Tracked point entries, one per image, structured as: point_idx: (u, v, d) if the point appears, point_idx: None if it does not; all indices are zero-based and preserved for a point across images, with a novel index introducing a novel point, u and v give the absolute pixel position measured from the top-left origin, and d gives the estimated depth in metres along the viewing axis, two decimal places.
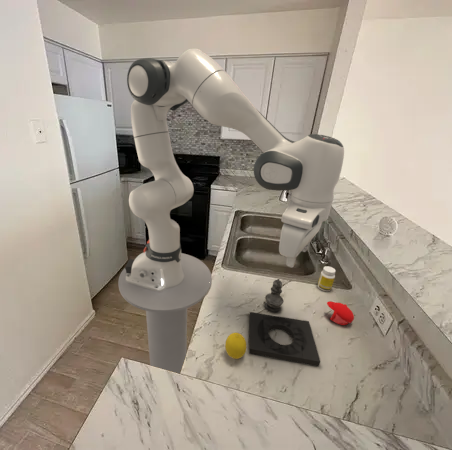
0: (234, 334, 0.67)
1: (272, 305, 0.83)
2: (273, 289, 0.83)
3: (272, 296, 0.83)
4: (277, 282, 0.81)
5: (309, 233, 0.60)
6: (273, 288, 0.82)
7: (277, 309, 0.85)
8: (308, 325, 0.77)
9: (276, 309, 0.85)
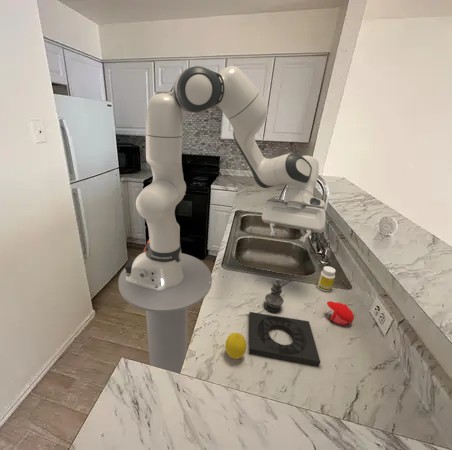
0: (234, 334, 0.67)
1: (272, 305, 0.83)
2: (273, 289, 0.83)
3: (272, 296, 0.83)
4: (277, 282, 0.81)
5: None
6: (273, 288, 0.82)
7: (277, 309, 0.85)
8: (308, 325, 0.77)
9: (276, 309, 0.85)
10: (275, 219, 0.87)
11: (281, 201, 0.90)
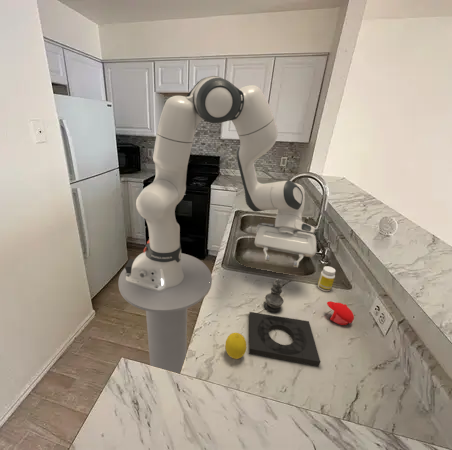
0: (234, 334, 0.67)
1: (272, 305, 0.83)
2: (273, 289, 0.83)
3: (272, 296, 0.83)
4: (277, 282, 0.81)
5: None
6: (273, 288, 0.82)
7: (277, 309, 0.85)
8: (308, 325, 0.77)
9: (276, 309, 0.85)
10: (269, 243, 0.89)
11: (272, 226, 0.92)
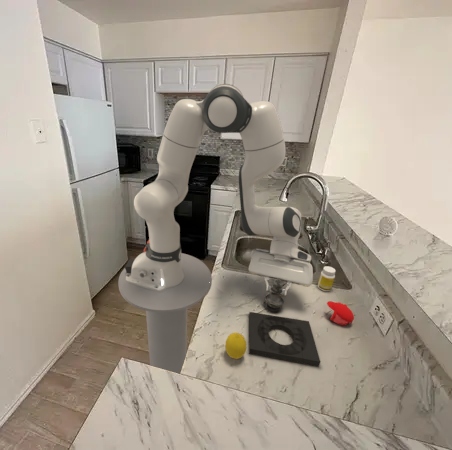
0: (234, 334, 0.67)
1: (272, 305, 0.83)
2: (273, 289, 0.83)
3: (272, 296, 0.84)
4: (277, 282, 0.81)
5: None
6: (273, 288, 0.82)
7: (277, 309, 0.85)
8: (308, 325, 0.77)
9: (276, 309, 0.85)
10: (263, 272, 0.85)
11: (267, 252, 0.88)
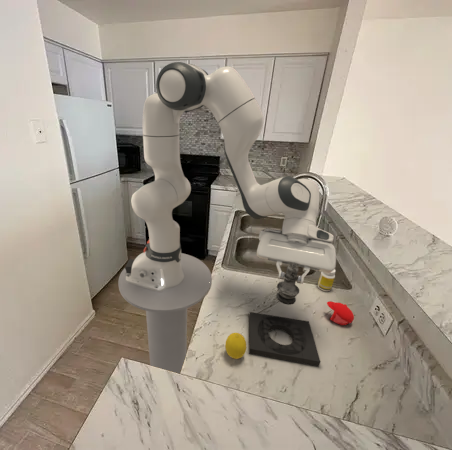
0: (234, 334, 0.67)
1: (286, 295, 0.69)
2: (287, 276, 0.68)
3: (285, 284, 0.69)
4: (292, 267, 0.67)
5: None
6: (287, 274, 0.68)
7: (291, 300, 0.71)
8: (308, 325, 0.77)
9: (290, 300, 0.71)
10: (275, 255, 0.70)
11: (279, 232, 0.74)
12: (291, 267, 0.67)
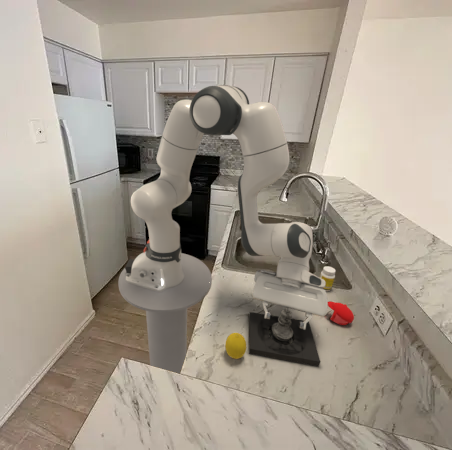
0: (234, 334, 0.67)
1: (280, 338, 0.72)
2: (281, 320, 0.71)
3: (280, 328, 0.72)
4: (286, 312, 0.70)
5: None
6: (281, 319, 0.71)
7: (285, 342, 0.73)
8: (308, 325, 0.77)
9: (284, 342, 0.73)
10: (269, 298, 0.73)
11: (273, 274, 0.76)
12: (285, 312, 0.70)
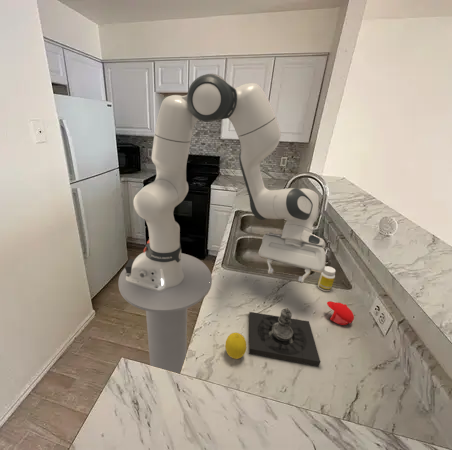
0: (234, 334, 0.67)
1: (280, 338, 0.72)
2: (281, 320, 0.71)
3: (280, 328, 0.72)
4: (286, 312, 0.70)
5: None
6: (281, 319, 0.71)
7: (285, 342, 0.73)
8: (308, 325, 0.77)
9: (284, 342, 0.73)
10: (272, 256, 0.83)
11: (279, 236, 0.85)
12: (285, 312, 0.70)
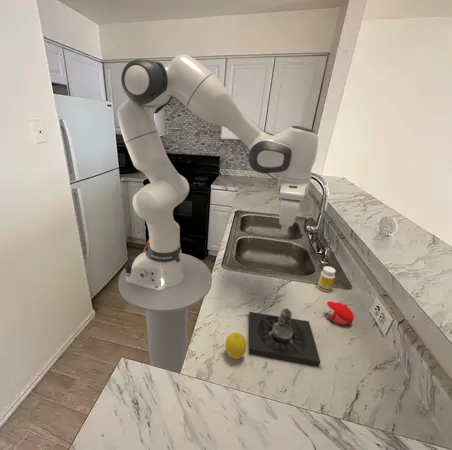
0: (234, 334, 0.67)
1: (280, 338, 0.72)
2: (281, 320, 0.71)
3: (280, 328, 0.72)
4: (286, 312, 0.70)
5: None
6: (281, 319, 0.71)
7: (285, 342, 0.73)
8: (308, 325, 0.77)
9: (284, 342, 0.73)
10: None
11: None
12: (285, 312, 0.70)
